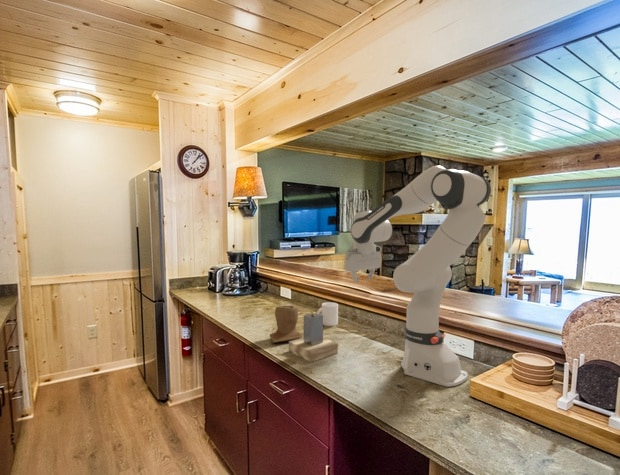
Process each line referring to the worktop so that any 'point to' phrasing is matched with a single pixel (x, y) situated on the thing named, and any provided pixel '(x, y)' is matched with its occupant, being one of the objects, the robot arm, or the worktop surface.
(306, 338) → the block
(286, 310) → the brown piece
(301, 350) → the maple stand
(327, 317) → the mug
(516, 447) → the worktop surface
